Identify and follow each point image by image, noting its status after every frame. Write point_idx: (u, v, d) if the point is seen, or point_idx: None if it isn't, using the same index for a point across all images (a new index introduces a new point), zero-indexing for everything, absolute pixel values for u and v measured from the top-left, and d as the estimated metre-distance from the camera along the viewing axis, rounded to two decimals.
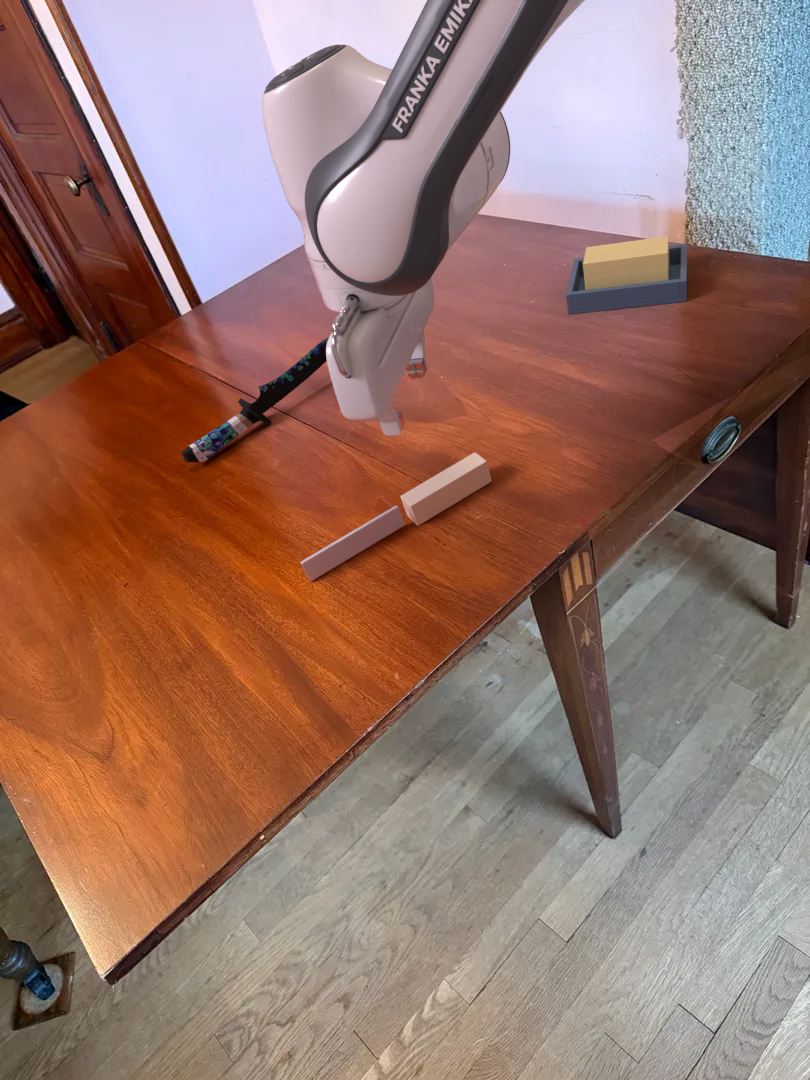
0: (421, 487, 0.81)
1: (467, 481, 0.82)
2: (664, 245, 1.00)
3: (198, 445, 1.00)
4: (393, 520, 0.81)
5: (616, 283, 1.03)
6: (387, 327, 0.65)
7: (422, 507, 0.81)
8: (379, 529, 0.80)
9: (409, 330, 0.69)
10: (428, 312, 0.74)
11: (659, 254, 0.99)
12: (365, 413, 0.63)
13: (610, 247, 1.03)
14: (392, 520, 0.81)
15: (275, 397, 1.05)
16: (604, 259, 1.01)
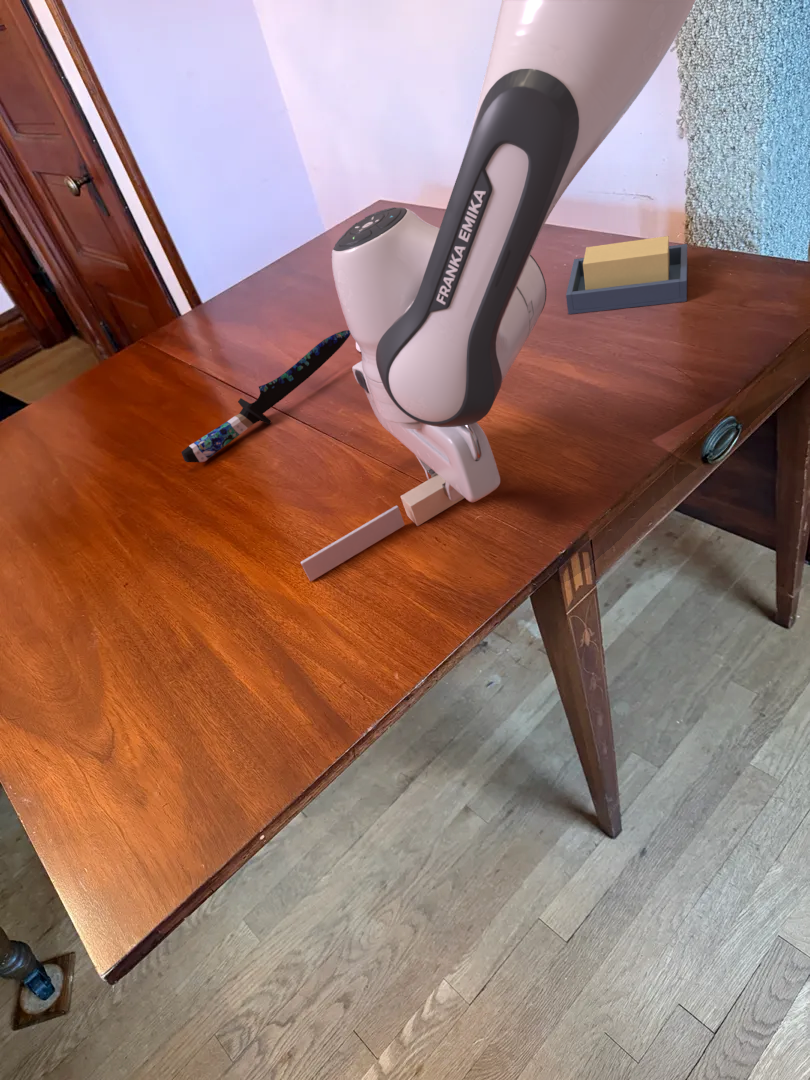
0: (421, 487, 0.81)
1: None
2: (664, 245, 1.00)
3: (198, 445, 1.00)
4: (393, 520, 0.81)
5: (616, 283, 1.03)
6: None
7: (422, 507, 0.81)
8: (379, 529, 0.80)
9: None
10: None
11: (659, 254, 0.99)
12: (491, 486, 0.71)
13: (610, 247, 1.03)
14: (392, 520, 0.81)
15: (275, 397, 1.05)
16: (604, 259, 1.01)
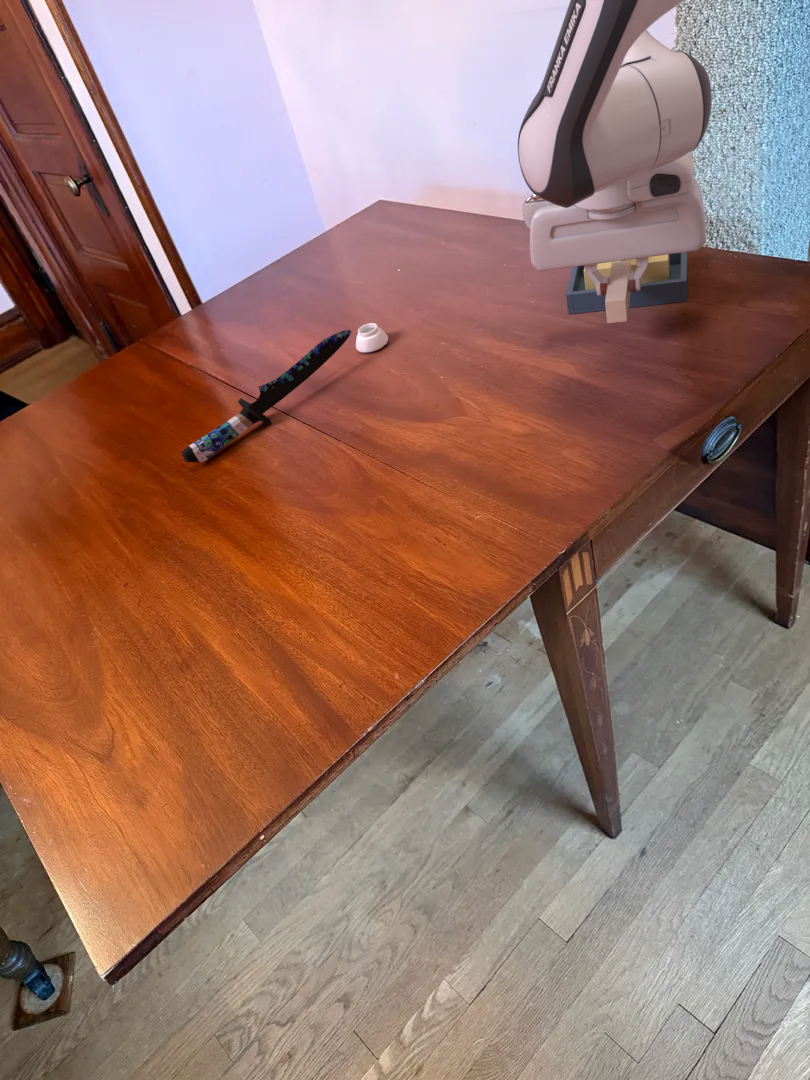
0: (624, 269, 0.94)
1: None
2: None
3: (198, 445, 1.00)
4: None
5: None
6: (588, 224, 0.87)
7: None
8: None
9: (625, 242, 0.87)
10: (678, 247, 0.86)
11: (659, 262, 0.99)
12: None
13: None
14: None
15: (275, 397, 1.05)
16: (605, 266, 1.02)
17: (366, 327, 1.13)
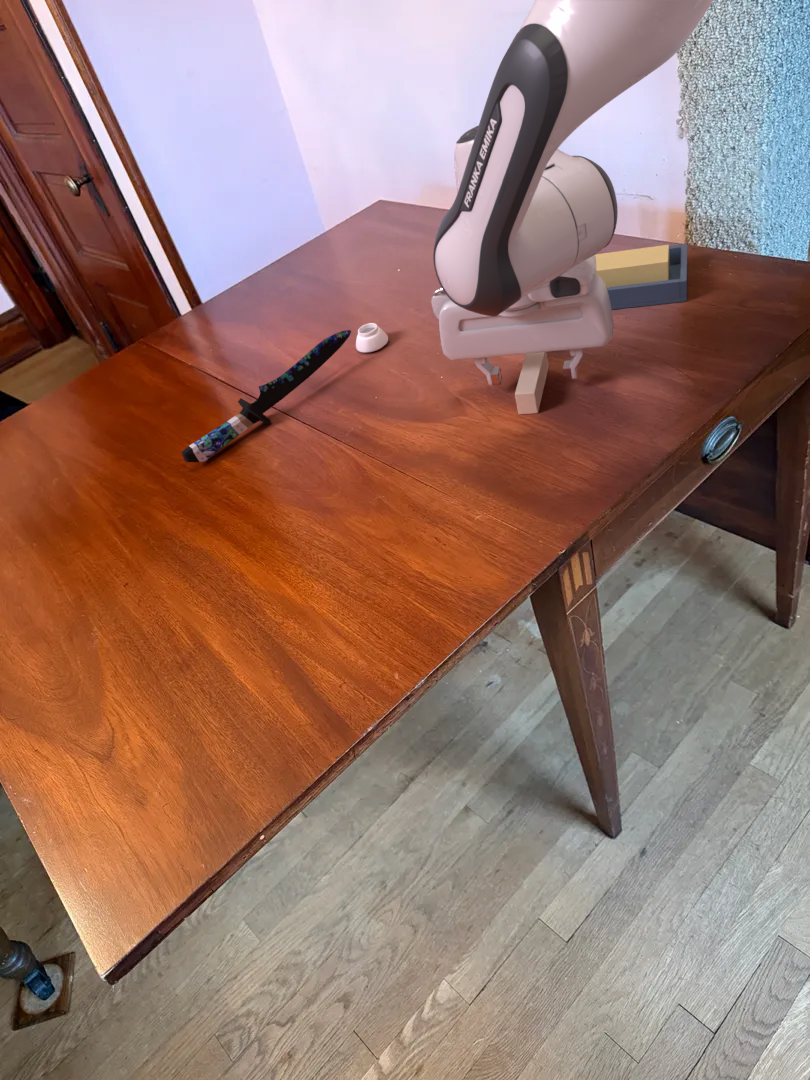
0: (538, 357, 0.94)
1: None
2: (664, 254, 1.01)
3: (198, 445, 1.00)
4: None
5: None
6: (495, 318, 0.86)
7: None
8: None
9: (532, 337, 0.87)
10: (585, 343, 0.85)
11: (659, 263, 0.99)
12: None
13: (611, 256, 1.04)
14: None
15: (275, 397, 1.05)
16: (605, 267, 1.02)
17: (366, 327, 1.13)
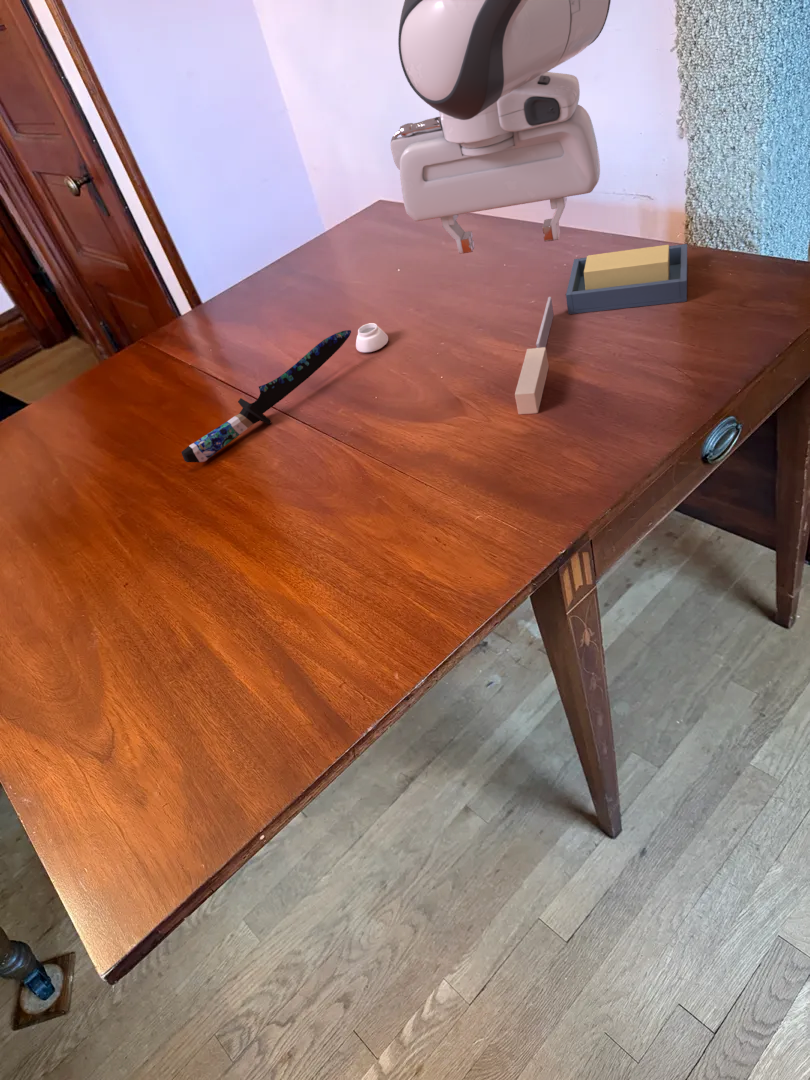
0: (538, 357, 0.94)
1: None
2: (664, 254, 1.01)
3: (198, 445, 1.00)
4: None
5: None
6: (463, 162, 0.75)
7: None
8: None
9: (507, 184, 0.75)
10: (567, 189, 0.74)
11: (659, 263, 0.99)
12: None
13: (611, 256, 1.04)
14: None
15: (275, 397, 1.05)
16: (605, 267, 1.02)
17: (366, 327, 1.13)
